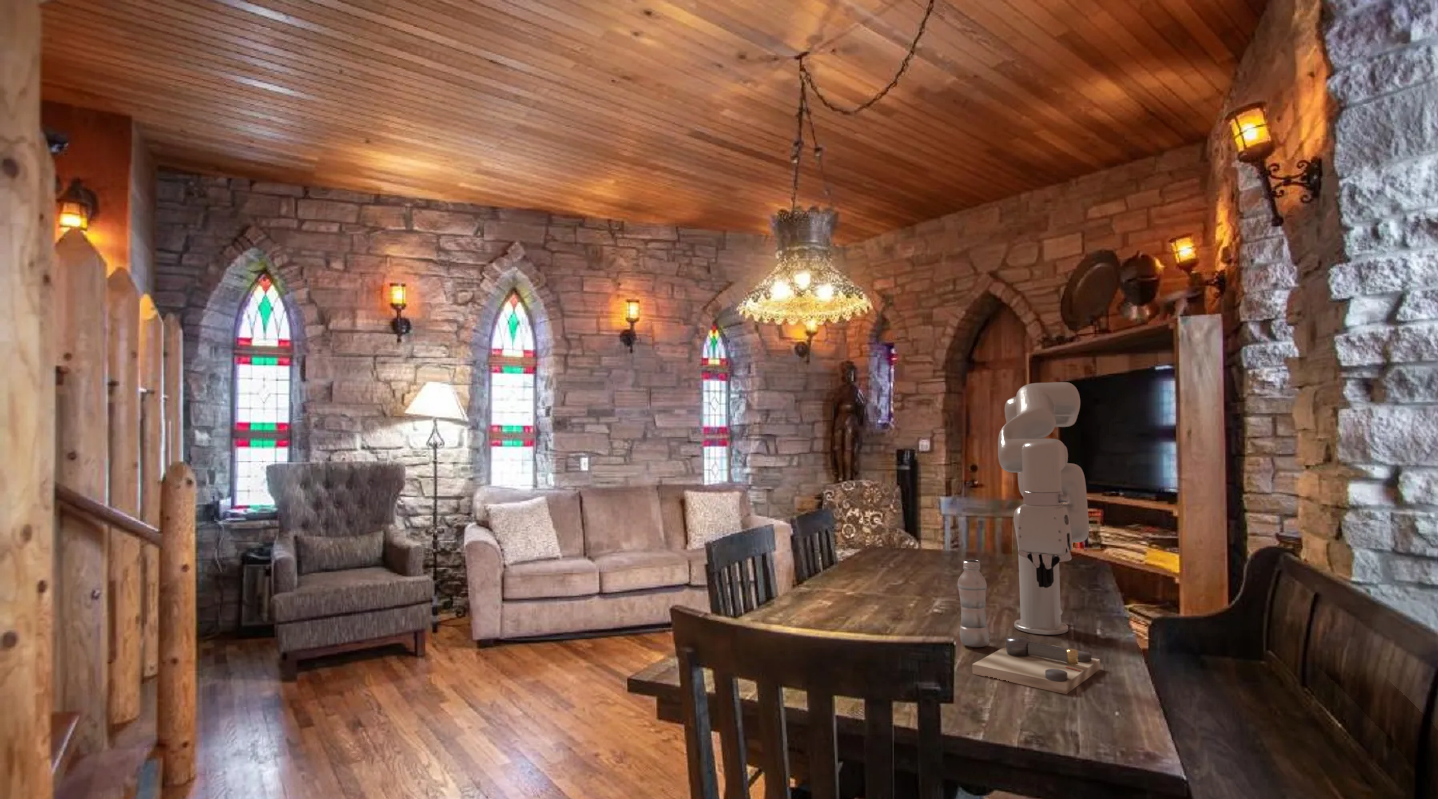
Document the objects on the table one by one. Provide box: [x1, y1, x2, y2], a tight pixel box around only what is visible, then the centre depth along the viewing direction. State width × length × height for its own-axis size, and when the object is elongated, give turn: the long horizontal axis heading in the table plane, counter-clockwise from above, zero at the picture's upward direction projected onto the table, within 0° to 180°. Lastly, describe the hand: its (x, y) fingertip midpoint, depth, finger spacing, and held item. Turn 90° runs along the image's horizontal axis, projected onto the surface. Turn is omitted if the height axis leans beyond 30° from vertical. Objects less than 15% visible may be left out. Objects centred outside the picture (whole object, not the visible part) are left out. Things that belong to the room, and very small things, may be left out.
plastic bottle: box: [957, 559, 990, 648], centre depth 181 cm, size 6×7×20 cm
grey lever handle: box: [1005, 635, 1079, 664], centre depth 163 cm, size 15×5×3 cm, turn 44°
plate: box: [971, 644, 1101, 695], centre depth 161 cm, size 20×19×3 cm
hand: (1045, 586), depth 162 cm, fingers closed
